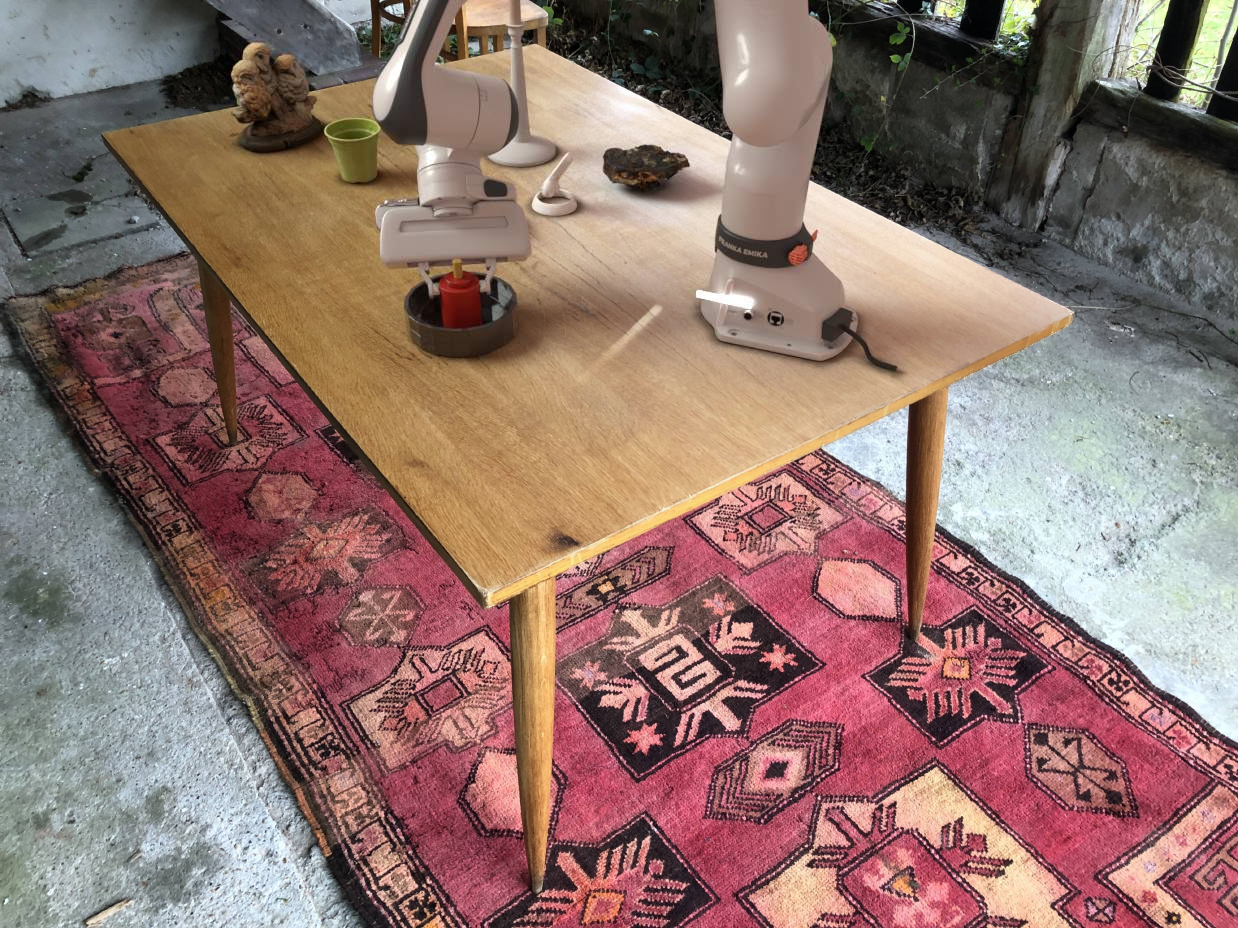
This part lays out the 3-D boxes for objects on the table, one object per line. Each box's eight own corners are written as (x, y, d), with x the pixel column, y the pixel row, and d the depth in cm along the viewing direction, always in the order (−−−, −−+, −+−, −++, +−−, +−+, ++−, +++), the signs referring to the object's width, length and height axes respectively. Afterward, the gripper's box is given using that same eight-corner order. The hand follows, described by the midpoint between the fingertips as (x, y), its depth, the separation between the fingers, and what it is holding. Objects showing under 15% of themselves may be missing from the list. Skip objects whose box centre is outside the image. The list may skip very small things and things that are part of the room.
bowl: (539, 321, 139) (538, 290, 135) (475, 374, 129) (472, 343, 125) (453, 291, 144) (450, 261, 141) (385, 340, 134) (380, 309, 131)
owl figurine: (264, 161, 176) (243, 64, 165) (220, 145, 181) (196, 50, 170) (337, 129, 188) (321, 36, 177) (293, 115, 193) (275, 24, 181)
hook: (592, 196, 157) (556, 170, 155) (556, 237, 166) (522, 214, 164) (604, 168, 162) (570, 142, 159) (569, 210, 171) (536, 186, 168)
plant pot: (398, 174, 174) (391, 126, 168) (360, 193, 168) (352, 144, 162) (359, 161, 177) (352, 113, 172) (321, 179, 171) (312, 131, 166)
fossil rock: (625, 208, 165) (626, 175, 162) (592, 176, 175) (592, 144, 171) (696, 195, 170) (699, 163, 166) (660, 164, 179) (662, 133, 176)
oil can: (490, 322, 137) (485, 257, 130) (467, 341, 133) (461, 275, 126) (459, 311, 139) (452, 247, 132) (435, 329, 135) (427, 264, 128)
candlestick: (553, 168, 177) (548, -10, 157) (482, 165, 177) (469, -12, 157) (557, 139, 187) (554, -31, 167) (491, 137, 187) (479, -34, 167)
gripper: (370, 192, 128) (379, 295, 127) (526, 184, 131) (536, 285, 130) (376, 208, 135) (384, 306, 134) (524, 200, 137) (534, 296, 136)
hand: (460, 296), depth 132 cm, fingers closed on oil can, 5 cm apart
